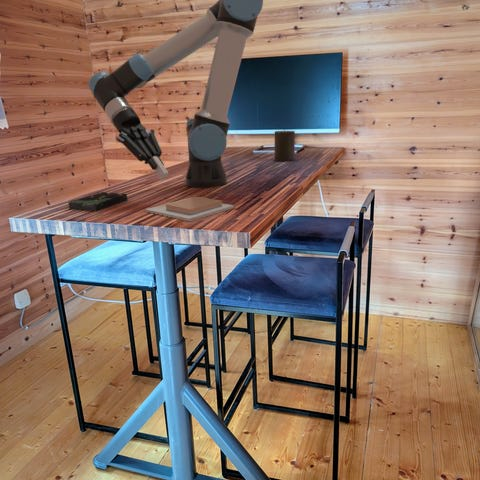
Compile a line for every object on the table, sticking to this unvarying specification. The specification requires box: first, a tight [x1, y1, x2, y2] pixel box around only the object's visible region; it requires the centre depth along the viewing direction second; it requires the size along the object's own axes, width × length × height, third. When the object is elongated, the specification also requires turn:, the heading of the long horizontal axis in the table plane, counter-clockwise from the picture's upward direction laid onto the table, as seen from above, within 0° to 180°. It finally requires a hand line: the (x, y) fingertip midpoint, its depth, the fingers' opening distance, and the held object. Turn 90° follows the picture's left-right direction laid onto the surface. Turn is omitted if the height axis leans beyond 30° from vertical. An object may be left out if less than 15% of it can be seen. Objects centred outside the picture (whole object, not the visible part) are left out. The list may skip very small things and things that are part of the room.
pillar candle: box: [274, 128, 296, 162], centre depth 213 cm, size 10×10×15 cm
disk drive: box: [68, 191, 128, 212], centre depth 135 cm, size 10×3×15 cm
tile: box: [165, 196, 223, 215], centre depth 123 cm, size 12×2×10 cm
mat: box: [145, 197, 234, 222], centre depth 125 cm, size 17×18×1 cm
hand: (164, 176), depth 129 cm, fingers closed
